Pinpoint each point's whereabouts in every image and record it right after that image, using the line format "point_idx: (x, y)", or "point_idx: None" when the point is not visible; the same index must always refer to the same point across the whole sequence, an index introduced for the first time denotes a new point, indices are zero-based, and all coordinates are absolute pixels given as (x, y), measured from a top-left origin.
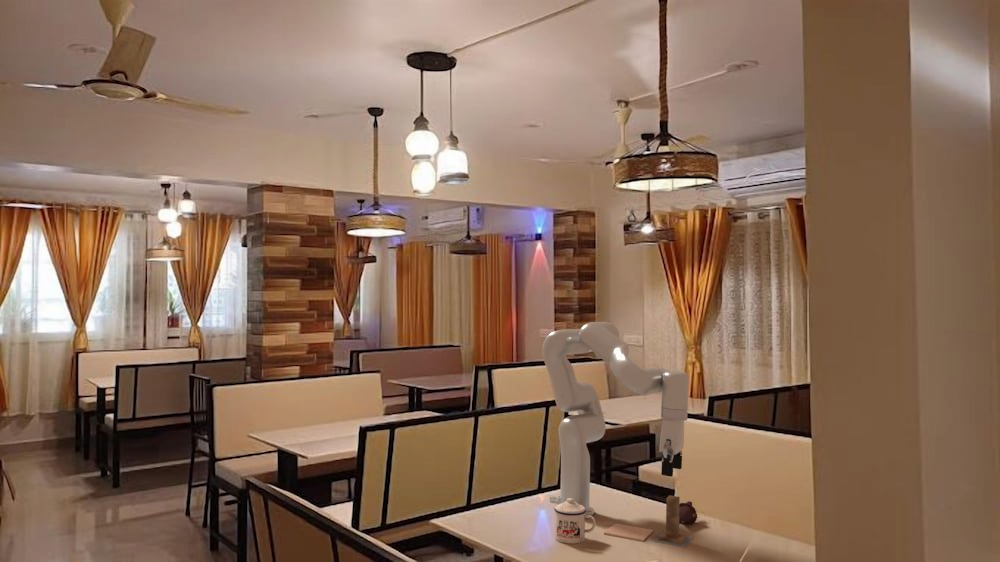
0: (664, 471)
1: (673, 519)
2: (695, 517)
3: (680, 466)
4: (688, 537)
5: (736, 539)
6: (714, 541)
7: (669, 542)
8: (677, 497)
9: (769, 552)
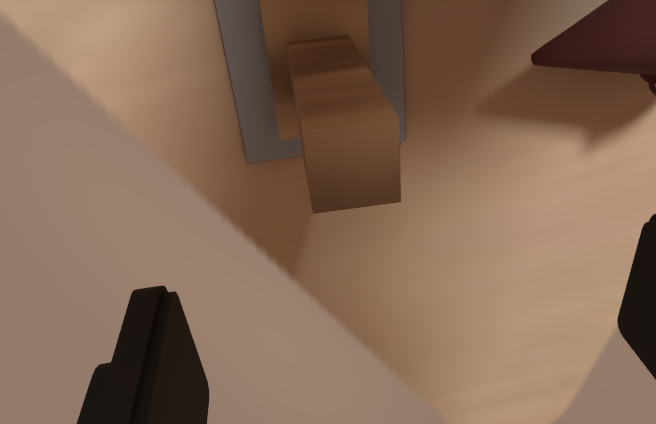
0: (99, 382)
1: (298, 123)
2: (650, 81)
3: (637, 351)
4: (399, 117)
5: (506, 269)
6: (431, 216)
7: (257, 70)
8: (373, 196)
9: (419, 383)
